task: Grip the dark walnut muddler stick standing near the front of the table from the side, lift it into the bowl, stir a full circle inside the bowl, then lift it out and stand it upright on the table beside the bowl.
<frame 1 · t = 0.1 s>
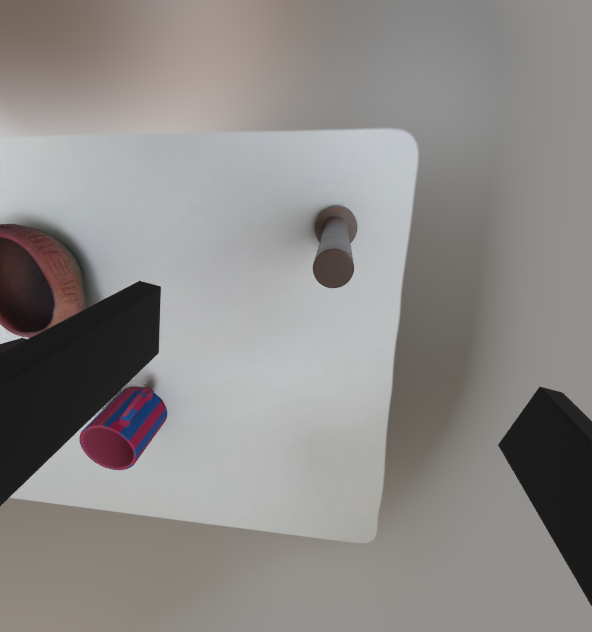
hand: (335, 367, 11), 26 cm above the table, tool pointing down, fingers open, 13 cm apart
muddler: (336, 226, 34), on the table
mug: (149, 399, 48), on the table
bowl: (71, 274, 41), on the table
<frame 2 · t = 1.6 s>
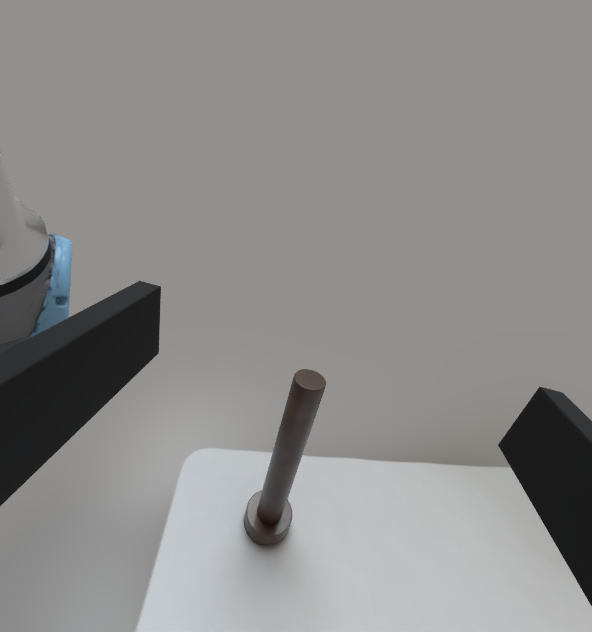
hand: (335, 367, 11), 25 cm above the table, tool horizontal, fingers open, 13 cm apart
muddler: (266, 520, 30), on the table
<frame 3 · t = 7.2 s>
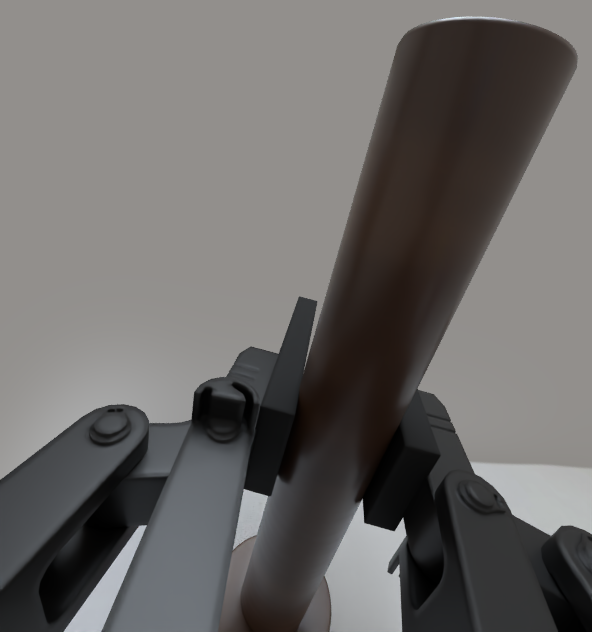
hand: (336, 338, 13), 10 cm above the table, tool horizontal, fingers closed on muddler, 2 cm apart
muddler: (266, 615, 12), on the table, touching gripper
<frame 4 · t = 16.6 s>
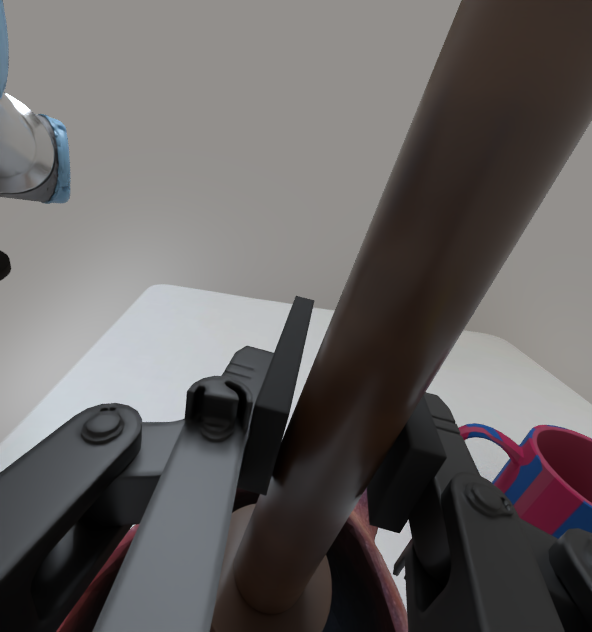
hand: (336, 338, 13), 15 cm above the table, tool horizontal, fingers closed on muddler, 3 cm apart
muddler: (257, 591, 11), point 7 cm above the table, tilted 6°, touching bowl, gripper
mug: (500, 532, 23), on the table
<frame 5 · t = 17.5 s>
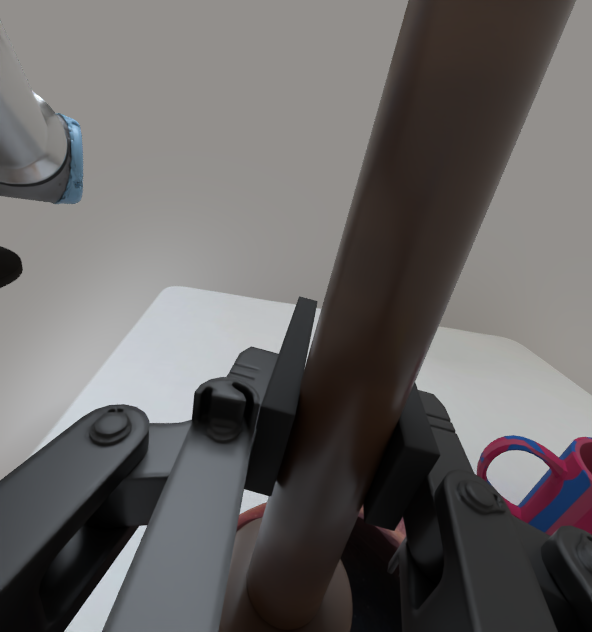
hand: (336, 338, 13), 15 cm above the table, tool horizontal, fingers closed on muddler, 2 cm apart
muddler: (274, 610, 10), point 8 cm above the table, tilted 6°, touching gripper
mug: (536, 545, 23), on the table
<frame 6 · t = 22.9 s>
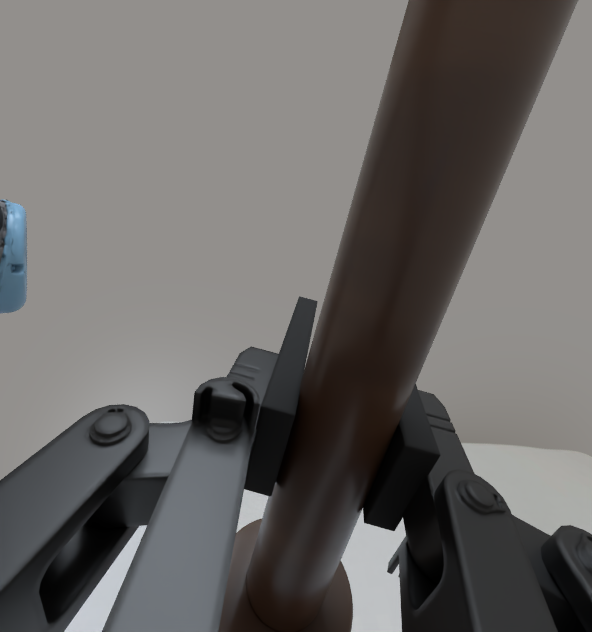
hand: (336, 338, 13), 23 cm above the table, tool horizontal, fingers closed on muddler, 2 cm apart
muddler: (274, 612, 10), point 16 cm above the table, tilted 7°, touching gripper
when the fingers open (7 cm above the table, at t = 27.6 s): muddler stays where it is, on the table.
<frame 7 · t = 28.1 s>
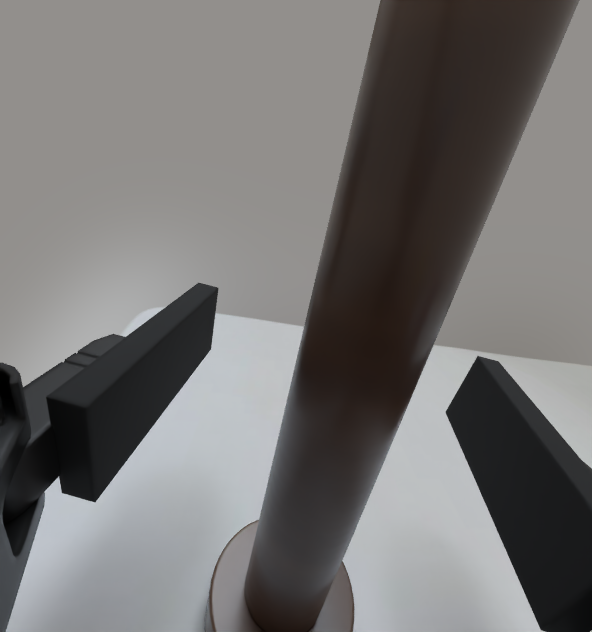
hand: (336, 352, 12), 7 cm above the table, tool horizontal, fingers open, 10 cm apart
muddler: (275, 613, 10), on the table
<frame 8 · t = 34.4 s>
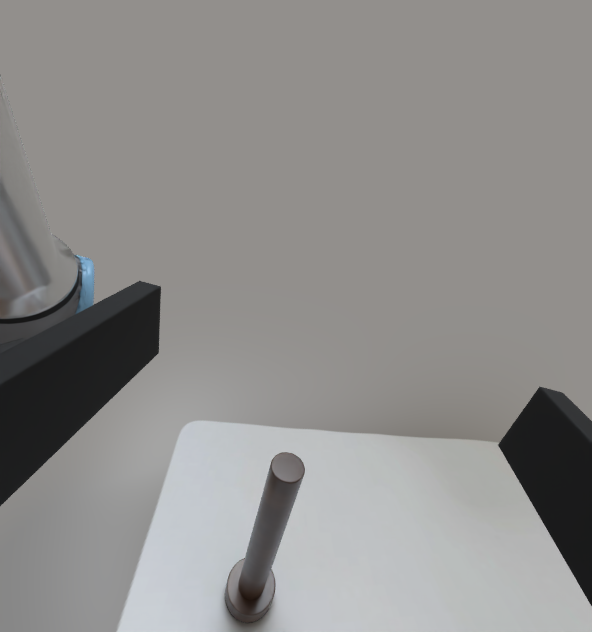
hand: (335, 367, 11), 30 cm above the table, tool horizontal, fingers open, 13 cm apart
muddler: (249, 591, 29), on the table
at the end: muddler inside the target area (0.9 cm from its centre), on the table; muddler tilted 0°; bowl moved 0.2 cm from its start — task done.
